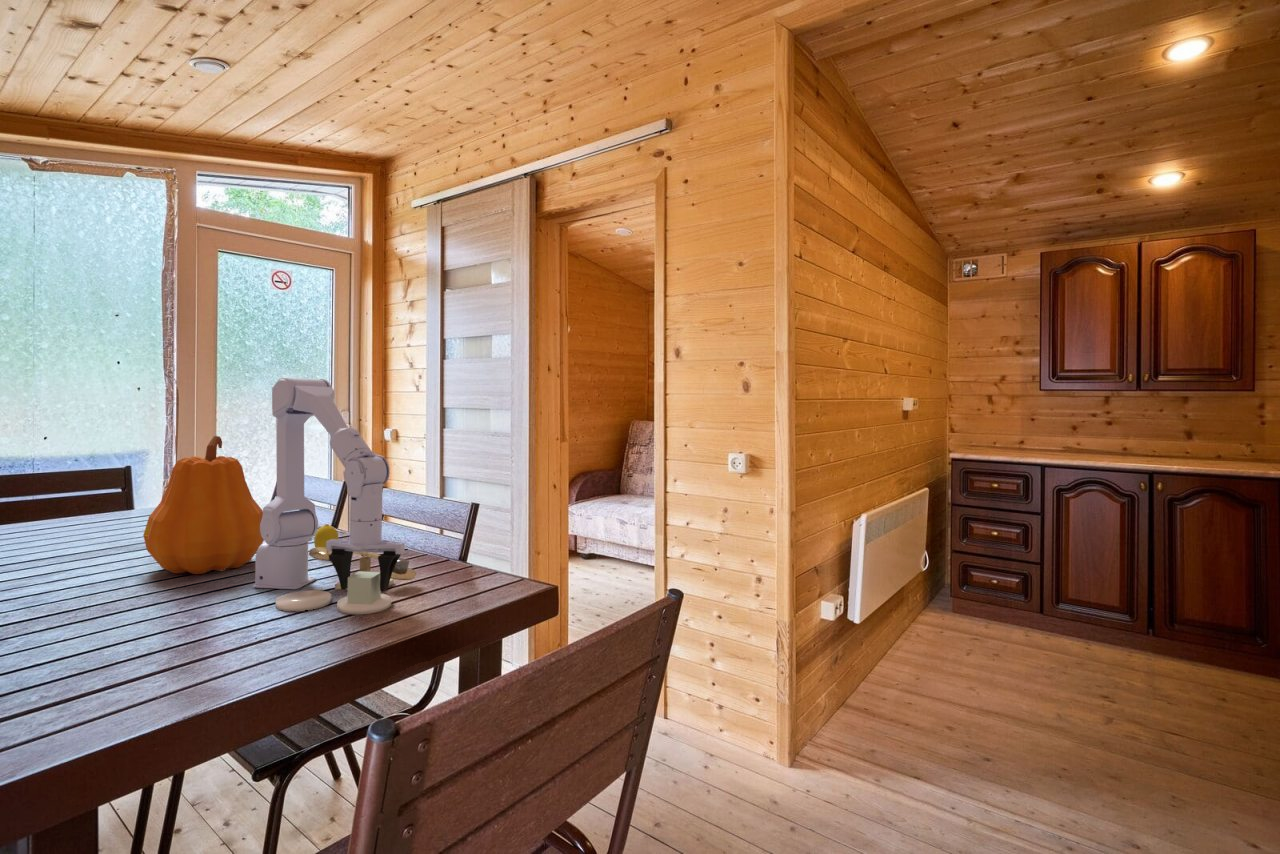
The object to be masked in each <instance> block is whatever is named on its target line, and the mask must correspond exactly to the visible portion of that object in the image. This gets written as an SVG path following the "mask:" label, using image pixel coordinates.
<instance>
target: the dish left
mask: <svg viewBox="0 0 1280 854" xmlns="http://www.w3.org/2000/svg"><path fill="white" fill-rule="evenodd" d="M331 603H332V594H331V593H330V592H328V591H326V590H317V589H315V590H313V589H312V590H309V589H308V590H299V591H293V592H289V593H285V594H282V595H280V596H278V597H277V598H275V608H276V609H277V610H279V611H282V610H283V612H291V611H296V612H306V611H305V610H308V611H312V610H313V609H314V610H317V609H321V608H324V607H327V606H328V605H330V604H331Z"/></svg>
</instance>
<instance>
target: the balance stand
mask: <svg viewBox="0 0 1280 854" xmlns="http://www.w3.org/2000/svg"><path fill="white" fill-rule="evenodd" d="M371 561H372V558H370V557H366V556H365V557H362V556H361V557H359V571H363V572H371V565H372V564H371V563H372V562H371ZM394 580H395V579H392V578H390V582H389V587H391V586H392V585H394V583H395V581H394ZM334 589H335V590H342V591H343V589H341V585H340V581H339V582H337V583H335V584H334ZM345 591H348V588H346V589H345Z"/></svg>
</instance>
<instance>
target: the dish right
mask: <svg viewBox="0 0 1280 854" xmlns="http://www.w3.org/2000/svg"><path fill="white" fill-rule="evenodd" d="M347 597H348V595H347V596H344V597H342V598H340V599H339V600H337V602H336V603H337V604H336V605H337V609H336V610H337V611H338V612H339V613H341V614H345V615H346V614H347V615H353V616H354V615H355V616H356V615H369V614H375V613H380V612H383V611H385V610H387V609H389V608H390V607H391V606H392V596H390V595H388V594H386V593H385V594H384V593H381V598H379V599H378V600H377V601H375V602H374V603H372V604H371V605H370V604H349V603H347Z"/></svg>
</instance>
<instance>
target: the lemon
mask: <svg viewBox="0 0 1280 854" xmlns="http://www.w3.org/2000/svg"><path fill="white" fill-rule="evenodd" d="M313 539H314V540H313V544H314V548H317V547H326V541H328V540H331V539H340V537H339V533H338V530H337V529H336V528H335V527H334V526H332V525H330V524H328V523H326V524H324V525H322V526H320V527H318V529H317V531H316V534H315V535H314V538H313Z"/></svg>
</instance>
